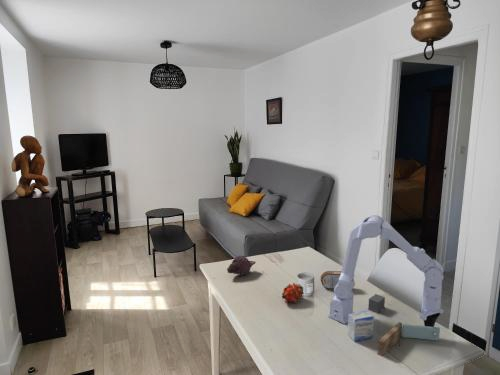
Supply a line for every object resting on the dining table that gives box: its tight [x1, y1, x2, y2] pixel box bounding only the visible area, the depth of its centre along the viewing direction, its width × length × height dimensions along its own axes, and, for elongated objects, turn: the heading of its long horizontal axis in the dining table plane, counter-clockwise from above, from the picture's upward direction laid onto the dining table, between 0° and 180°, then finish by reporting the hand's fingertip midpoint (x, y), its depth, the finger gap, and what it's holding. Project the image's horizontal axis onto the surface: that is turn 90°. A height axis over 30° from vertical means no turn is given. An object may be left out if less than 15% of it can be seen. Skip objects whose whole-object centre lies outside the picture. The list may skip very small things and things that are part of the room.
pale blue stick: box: [402, 323, 441, 341], centre depth 123 cm, size 12×2×4 cm, turn 78°
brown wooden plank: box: [377, 321, 403, 357], centre depth 121 cm, size 16×2×5 cm, turn 133°
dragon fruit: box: [281, 282, 305, 304], centre depth 152 cm, size 8×8×12 cm
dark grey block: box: [367, 293, 386, 314], centre depth 144 cm, size 6×4×5 cm, turn 133°
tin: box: [320, 270, 342, 290], centre depth 163 cm, size 15×3×8 cm, turn 84°
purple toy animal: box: [226, 255, 256, 276], centre depth 179 cm, size 18×10×10 cm, turn 129°
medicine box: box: [347, 310, 375, 342], centre depth 126 cm, size 8×4×9 cm, turn 105°
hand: (428, 329), depth 126 cm, fingers closed
